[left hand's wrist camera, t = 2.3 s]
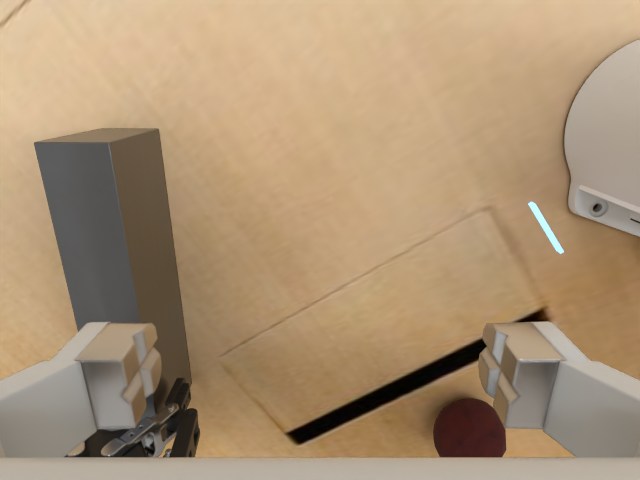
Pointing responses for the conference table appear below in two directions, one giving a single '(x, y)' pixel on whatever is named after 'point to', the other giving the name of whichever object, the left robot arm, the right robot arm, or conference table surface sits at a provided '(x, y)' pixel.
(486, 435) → the potato
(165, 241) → the bar
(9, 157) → the conference table surface
